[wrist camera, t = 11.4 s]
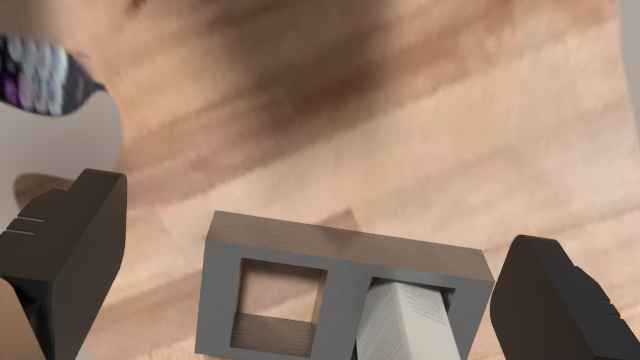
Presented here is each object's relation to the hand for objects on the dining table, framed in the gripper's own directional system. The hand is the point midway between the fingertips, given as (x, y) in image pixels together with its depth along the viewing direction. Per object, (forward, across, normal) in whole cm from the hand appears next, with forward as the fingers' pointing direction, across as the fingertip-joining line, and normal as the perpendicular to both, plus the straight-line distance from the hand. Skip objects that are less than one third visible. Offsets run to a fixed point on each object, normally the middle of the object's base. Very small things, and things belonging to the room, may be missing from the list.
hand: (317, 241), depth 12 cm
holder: (+27, -6, +21) cm, 35 cm away
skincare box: (+27, -10, +21) cm, 35 cm away
